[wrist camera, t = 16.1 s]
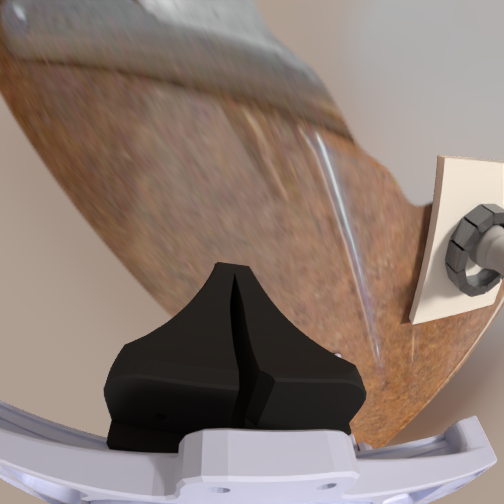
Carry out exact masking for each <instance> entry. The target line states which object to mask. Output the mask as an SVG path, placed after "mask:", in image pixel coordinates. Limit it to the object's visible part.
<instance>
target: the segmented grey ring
mask: <svg viewBox="0 0 504 504" xmlns="http://www.w3.org/2000/svg"><path fill="white" fill-rule="evenodd" d="M464 219H465V220H464ZM464 219H463V218H462V219H461V221H460V222H459V224H458V226H457V227H456V229H455V231H454V232H453V234H452V235H451V237H450V238H452V239H453V240H449V243H448V248H447V252H446V257H445V261H446V262H445V266H446V270H447V274H448V278H449V279H450V280H451V281H452V282H453V284H454V285H455V286H456V287H457V288H458V289H459V290H460V291H461V292H463V293H464V294H466V295H468V296H469V297H474V296H478V295H482V294H485V293H486V292H488V291H490V290H491V289H492V288H493V287H495V286H496V285H497V284H498V283H499V282H500V279H503V278H504V276H503V275H502V274H500V273H499V272H497V271H496V270H494V269H492V270H491V269H488V268H487V269H486V268H484V269H482V270H481V271H480V272H479V273H477V274H475V275H470V276H466V271H465V268H466V264H467V261H468V257H469V253H470V251H471V249H472V247H473V246H474V244H475V243H476V241H477V239H478V238H479V236H480V235H481V234H482V233H483V232H484V231H486V230H487V229H488V228H489V227H491V226H492V225H493V224H499V225H500V226H502V227H503V229H504V209H503V208H501V207H499V206H498V205H496V204H481V206H480V205H478V206H477V207H475V208H474V209H473V210H471V211H470V212H469V213H467V214H466V215H465V216H464Z"/></svg>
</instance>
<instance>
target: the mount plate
mask: <svg viewBox="0 0 504 504" xmlns="http://www.w3.org/2000/svg"><path fill="white" fill-rule="evenodd" d="M481 204H496V205H498V206H499V207H501V208H503V209H504V161H497V160H489V159H480V158H470V157H458V156H445V155H438V158H437V171H436V180H435V189H434V197H433V205H432V212H431V219H430V225H429V231H428V237H427V242H426V247H425V253H424V257H423V262H422V267H421V271H420V276H419V280H418V284H417V288H416V292H415V296H414V300H413V304H412V308H411V311H410V315H409V320H410V321H411V323H412V324H417V323H421V322H426V321H430V320H434V319H439V318H443V317H447V316H451V315H455V314H459V313H462V312H466V311H470V310H474V309H477V308H481V307H484V306H488V305H491V304H493V303H494V301H495V298H496V295H497V293H498V290H499V287H500V285H501V282H502V279H500V282H499V283H498V284H497V285H496V286H495V287H493V288H492V289H491V290H490V291H488V292H486V293H485V294H482V295H478V296H474V297H469V296H468V295H466V294H464V293H463V292H461V291H460V290H459V289H458V288H457V287H456V286H455V285H454V284H453V282H452V281H451V280H450V279H449V278H448V274H447V270H446V266H445V262H446V261H445V257H446V252H447V248H448V243H449V240H453V239H452V238H450V237H451V235H452V234H453V232H454V231H455V229H456V227H457V226H458V224H459V222H460V221H461V219H462V218H463V219H464V216H465V215H466V214H467V213H469V212H470V211H471V210H473V209H474V208H475V207H477V206H478V205H480V206H481ZM464 220H465V219H464ZM498 225H499V224H498ZM482 269H484V268H481V267H479V266H478V265H477V264H476V263H474V262H473V261H472V260H471V259H470V257H468V261H467V264H466V268H465V271H466V276H470V275H475V274H477V273H479V272H480V271H481V270H482Z"/></svg>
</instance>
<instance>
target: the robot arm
mask: <svg viewBox="0 0 504 504" xmlns="http://www.w3.org/2000/svg"><path fill="white" fill-rule="evenodd" d="M104 397H105V401H106V403H107V407H108V410H109V413H110V416H111V419H112V421H111V425H110V429H109V433H108V437H107V438H105V437H102V436H98V435H94V434H91V433H87V432H84V431H80V430H77V429H73V428H70V427H67V426H64V425H61V424H58V423H55V422H52V421H50V420H47V419H44V418H41V417H38V416H36V415H33V414H31V413H28V412H26V411H24V410H21V409H19V408H16V407H14V406H12V405H10V404H7V403H5V402H3V401H1V400H0V478H1V479H3V480H5V481H6V482H8V483H10V484H12V485H14V486H15V487H17V488H19V489H21V490H23V491H25V492H27V493H29V494H31V495H33V496H35V497H37V498H39V499H41V500H44V501H46V502H48V503H50V504H427V503H429V502H431V501H434V500H436V499H439V498H441V497H443V496H446V495H448V494H450V493H452V492H454V491H457V490H458V489H460V488H461V487H463V486H464V485H466V484H468V483H469V482H470V481H471V480H473V479H475V478H476V477H477V476H479V475H480V474H482V473H483V472H484V471H486V470H487V469H488V468H490V467H491V466H492V465H494V464H495V463H496V462H497V458H496V456H495V454H494V451H493V449H492V447H491V445H490V443H489V441H488V439H487V437H486V435H485V433H484V431H483V429H482V427H481V425H480V423H479V421H478V419H477V417H476V416H472V417H469V418H465V419H462V420H459V421H457V422H455V423H454V424H452V425H451V426H450V427H449V428H448V429H447V430H446V431H445V432H444V434H440V435H436V436H433V437H429V438H425V439H421V440H417V441H412V442H408V443H403V444H398V445H393V446H388V447H382V448H377V449H372V447H371V445H369V444H367V443H365V442H364V441H361V442H358V443H357V446H356V442H355V439H354V435H353V434H351V429H350V426H349V422H350V421H351V420H352V418H353V417H354V416H355V415H356V413H357V412H358V411H359V409H360V408H361V407H362V405H363V403H364V402H365V400H366V390H365V387H364V385H363V381H362V379H361V376H360V374H359V372H358V370H357V368H356V365H354V364H352V363H350V362H348V361H346V360H344V359H342V358H341V355H340V354H333V353H331V352H329V351H328V350H326V349H325V348H323V347H321V346H320V345H318V344H317V343H316V342H314V341H313V340H311V339H310V338H309V337H307V336H306V335H305V334H304V333H302V332H301V331H300V330H299V329H298V328H297V327H295V326H294V325H293V324H292V323H291V322H290V321H289V320H288V319H287V318H286V317H285V316H284V315H283V314H282V313H281V312H280V311H279V309H278V308H277V307H276V306H275V305H274V303H273V302H272V301H271V300H270V298H269V297H268V295H267V294H266V293H265V291H264V290H263V288H262V287H261V285H260V284H259V282H258V280H257V279H256V277H255V275H254V274H253V272H252V270H251V269H250V267H249V266H244V265H236V264H229V263H222V262H217V263H216V264H215V266H214V269H213V271H212V273H211V275H210V276H209V278H208V280H207V281H206V283H205V284H204V285H203V287H202V288H201V290H200V291H199V292H198V293H197V294H196V296H195V297H194V298H193V299H192V300H191V301H190V302H189V304H188V305H187V306H186V307H184V308H183V309H182V310H181V311H180V312H179V313H178V314H177V315H175V316H174V317H173V318H172V319H171V320H169V321H168V322H167V323H165V324H164V325H162V326H161V327H159V328H157V329H156V330H154V331H153V332H151V333H149V334H148V335H146V336H144V337H141V338H139V339H137V340H135V341H133V342H130V343H128V344H125V345H124V347H123V348H122V349H121V351H120V353H119V354H118V356H117V358H116V359H115V361H114V363H113V365H112V367H111V369H110V371H109V374H108V377H107V380H106V384H105V387H104ZM357 447H358V449H357Z"/></svg>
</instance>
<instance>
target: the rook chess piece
mask: <svg viewBox="0 0 504 504" xmlns="http://www.w3.org/2000/svg"><path fill="white" fill-rule="evenodd" d="M469 257H470V259H471V260H472V261H473V262H474V263H476V264H477V265H478V266H479V267H481V268H486V269H487V268H488V269H491V270H492V269H494V270H496V271H497V272H499V273H500V274H502V275H503V276H504V229H503V227H502V226H500V225H498V224H493V225H492V226H491V227H489V228H488V229H487V230H486V231H484V232H483V233H482V234H481V235H480V236H479V238H478V239H477V241H476V243H475V244H474V246H473V247H472V249H471V251H470V253H469Z"/></svg>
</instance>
